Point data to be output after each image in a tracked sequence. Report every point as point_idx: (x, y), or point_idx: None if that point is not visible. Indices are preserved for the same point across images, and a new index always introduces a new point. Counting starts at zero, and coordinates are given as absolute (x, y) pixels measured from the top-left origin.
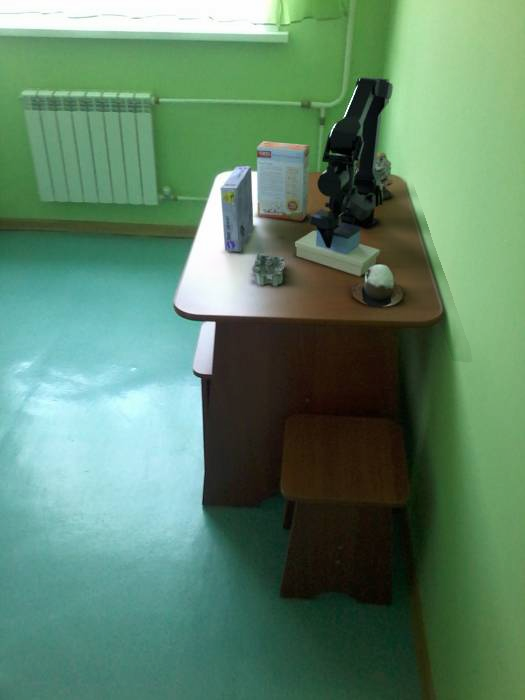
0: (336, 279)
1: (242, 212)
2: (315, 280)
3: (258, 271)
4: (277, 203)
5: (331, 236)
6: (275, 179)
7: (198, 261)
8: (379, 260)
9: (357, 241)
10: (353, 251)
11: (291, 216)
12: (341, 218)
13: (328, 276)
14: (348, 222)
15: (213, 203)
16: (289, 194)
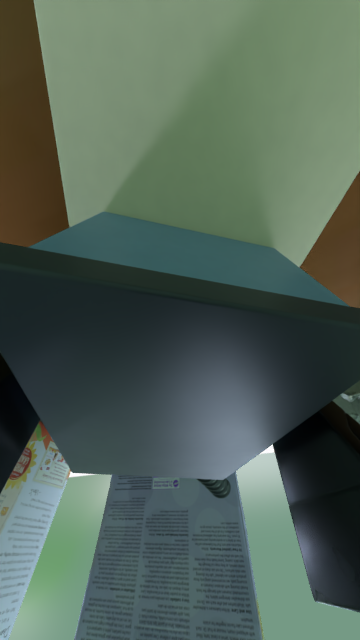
0: (351, 227)
1: (208, 533)
2: (353, 296)
3: (356, 415)
4: (42, 475)
5: (357, 427)
6: (6, 564)
7: (269, 450)
8: (34, 11)
9: (118, 226)
10: (209, 217)
11: (39, 432)
12: (14, 461)
13: (321, 267)
14: (2, 411)
15: (90, 474)
16: (5, 504)
